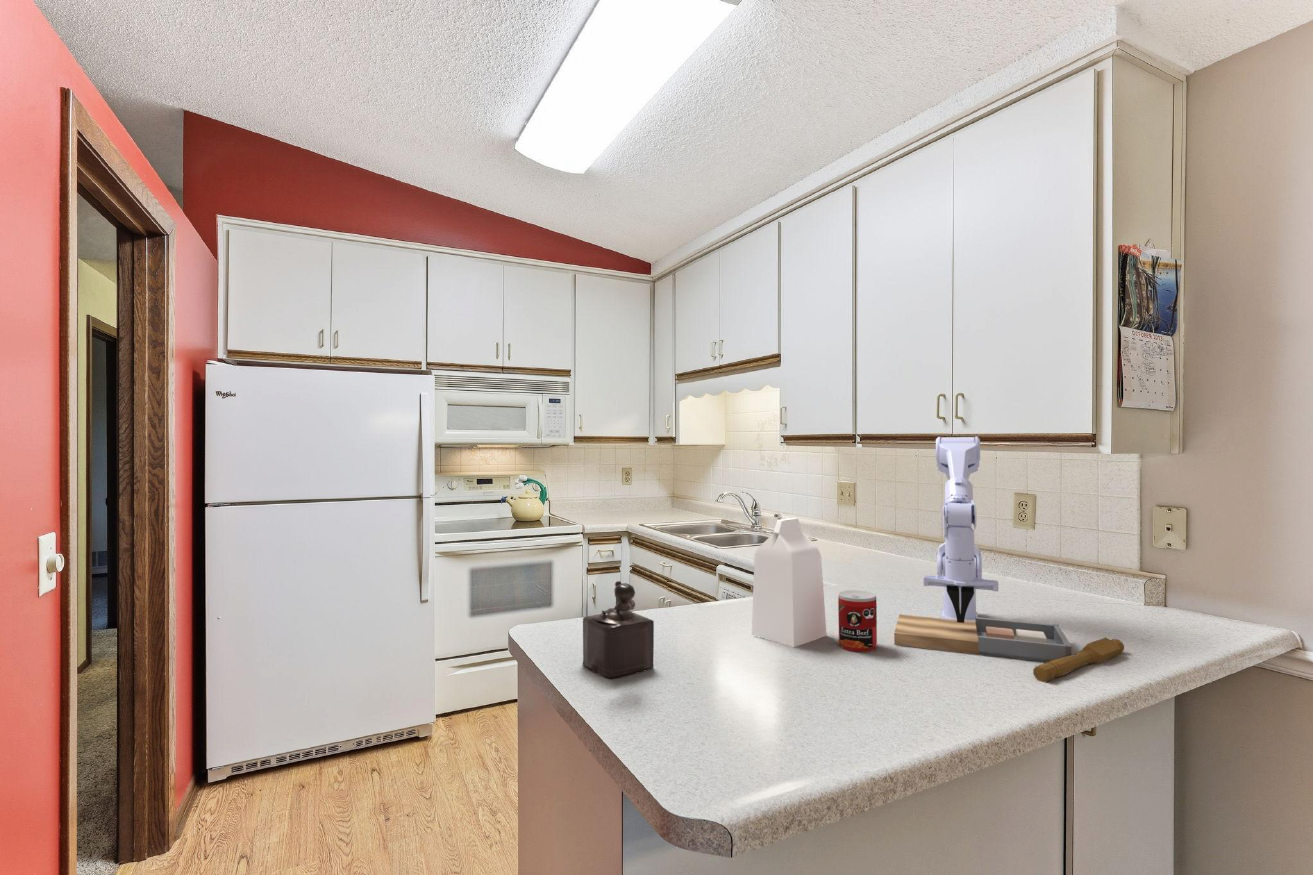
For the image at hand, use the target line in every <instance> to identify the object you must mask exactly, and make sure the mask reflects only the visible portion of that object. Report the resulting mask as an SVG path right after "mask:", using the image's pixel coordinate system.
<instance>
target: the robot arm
mask: <svg viewBox="0 0 1313 875" xmlns="http://www.w3.org/2000/svg"><path fill="white" fill-rule="evenodd" d="M935 460H936V467H937V470H938V471H939V472H941V473H943V474H945V476H946V478H947V481H946V482H945V484H944V504H943V506H942V527H943V532H944V533H943V534H944V538H945V539H944V542H942V543H941V544H940V545H939V546H938V548H937V556H936V557H937V559H936V570H937V571H936V573H937V574H936V575H923V586H924V587H929V586H931V587H932V586H933V587H942V592H943V594H942V598H943V606H942V607H943V608H941V618H943V619H953V620H957V622H959V623H964V621H974V622H975V617H979V615H978V611H977V590H984V591H992V592H999V580H995V579H985V578H982V577H983V570H982V569H983V567H982V566H983V563H982V554H981V550H980V548H979V547H978V546H977V545H975V531H974V530H976V527H977V507H976V504H975V499H974V487H973V483H972V482H971V481H970V480H969V478H970V476H971V474H974V473H976V472H978V470H979V467H980V461H981V439H980V437H978V436H973V437H971V436H967V437H966V436H965V437H963V436H959V437H958V436H957V437H955V436H954V437H952V436H949V437H948V436H947V437H941V436H937V438H935ZM972 525H973V527H974V528H972Z"/></svg>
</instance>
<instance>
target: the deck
mask: <svg viewBox="0 0 1313 875" xmlns="http://www.w3.org/2000/svg"><path fill="white" fill-rule="evenodd" d="M893 634H894V636H893V637H894V640H893V641H894V645H895V646H902V647H911V648H920V649H930V650H936V651H947V652H953V653H954V652H955V653H963V654H970V655H971V654H973V655H979V642H978V635H977V629H976V623H975V622H974V621H964V623H959V622H957V620H953V619H943V618H942V617H941V618H940V617H933V616H931V617H929V616H920V615H910V614H898V618H897V621H896V626H895V629H894V633H893Z"/></svg>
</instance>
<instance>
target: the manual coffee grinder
mask: <svg viewBox="0 0 1313 875" xmlns="http://www.w3.org/2000/svg"><path fill="white" fill-rule="evenodd" d="M614 586H615V587H614V589H613V592H614V597H615V606H614V607H609V608H608V609H606V610H601V613H599V614H594V615H589V616H588V615H587V616H583V618H582V655H583V656H582V665H583V666H584V665H585V666H584V667H586V668H587V669H589V670H590V671H591V672H594V673H595V674H598V675H600V676H603V677H605V678H608V679H616V678H617V679H618V678H623V676H624V677H628V676H631V674H632V675H635V673H636V674H638V673H637V672H640V673H642V671H643V672H645V671H644V670H646V671H649V670H652V669H653V668H654V646H655V645H654V644H655V640H654V639H655V638H654V637H655V633H654V632H655V631H654V630H655V629H654V627H655V626H654V625H655V624H654V622H655V620H652V619H650V618H648V617H646V616H643V615H640V614H638V613H636V612H633V611H631V610H634V609H636V603H635V600H633V598H634V597H635V596H636V591H635V588H634V586H633V585H631V584H629V583H626V582H625V583H623V582H622V581H620V580H617V581H616V582H615V583H614ZM651 668H652V669H651ZM648 669H649V670H648Z"/></svg>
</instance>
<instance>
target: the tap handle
mask: <svg viewBox="0 0 1313 875" xmlns="http://www.w3.org/2000/svg"><path fill="white" fill-rule="evenodd" d="M1124 650H1125V645H1124V643H1123V642H1122V641H1121V640H1119V639H1117V638H1111V639H1110V638H1108V637H1106V636H1105V637H1103V638H1100V639H1097V640H1095V641H1091V642H1088V643H1086V645H1085V646H1084V647H1083V648H1082V649H1081V650H1080V651H1079V652H1078V653H1076V654H1075V653H1074V654H1072V655H1071V656H1067V657H1063V658H1060V659H1056V660H1053V661H1050V662H1043V663H1041V664H1038V665H1036V666H1034V668H1033V669H1032V673H1033V676H1034V677H1035V679H1036V681H1039V682H1042V683H1046V682H1050V681H1051V680H1054V679H1057V678H1058V677H1062V676H1065V675H1067V674H1068V673H1070V672H1072V671H1075V670H1076V669H1078V668H1080V667H1083V666H1085V665H1091V664H1095V665H1096V664H1099V663H1102V662H1104V661H1107V660H1109V659H1112V658H1114V657H1117V656H1118V655H1119V654H1121V653H1123V652H1124Z"/></svg>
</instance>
